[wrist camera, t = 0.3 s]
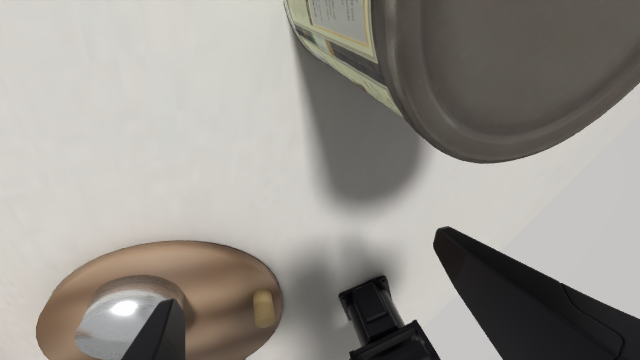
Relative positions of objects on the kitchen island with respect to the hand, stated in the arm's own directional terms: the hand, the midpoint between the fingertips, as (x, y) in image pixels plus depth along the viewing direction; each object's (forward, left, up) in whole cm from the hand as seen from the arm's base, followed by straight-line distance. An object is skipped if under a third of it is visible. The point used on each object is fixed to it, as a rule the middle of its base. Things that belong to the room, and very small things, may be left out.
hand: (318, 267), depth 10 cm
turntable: (-16, +16, -14) cm, 27 cm away
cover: (-11, +16, -12) cm, 23 cm away
